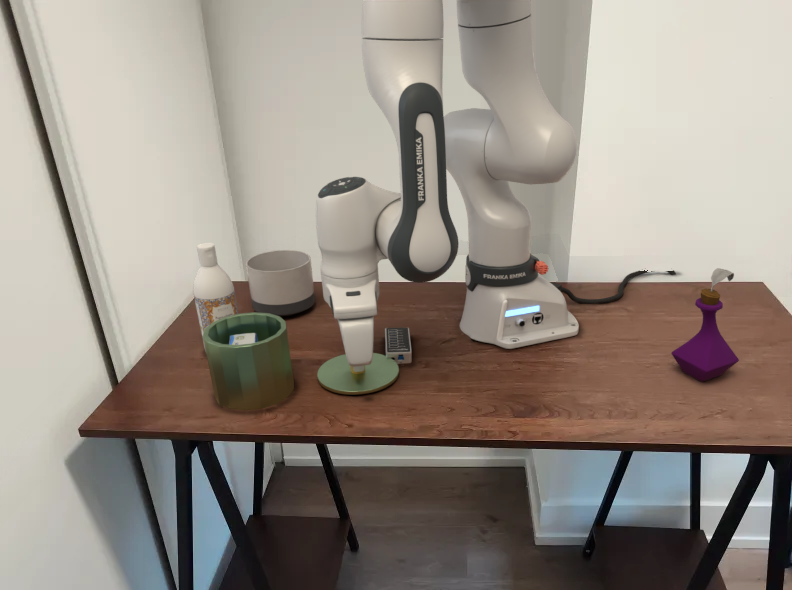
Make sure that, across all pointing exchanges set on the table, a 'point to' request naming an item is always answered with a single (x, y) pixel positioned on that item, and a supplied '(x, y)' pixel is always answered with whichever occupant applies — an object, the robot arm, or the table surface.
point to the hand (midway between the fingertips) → (357, 364)
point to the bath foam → (212, 289)
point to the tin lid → (357, 375)
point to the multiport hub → (398, 345)
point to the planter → (281, 282)
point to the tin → (249, 361)
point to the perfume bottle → (707, 338)
